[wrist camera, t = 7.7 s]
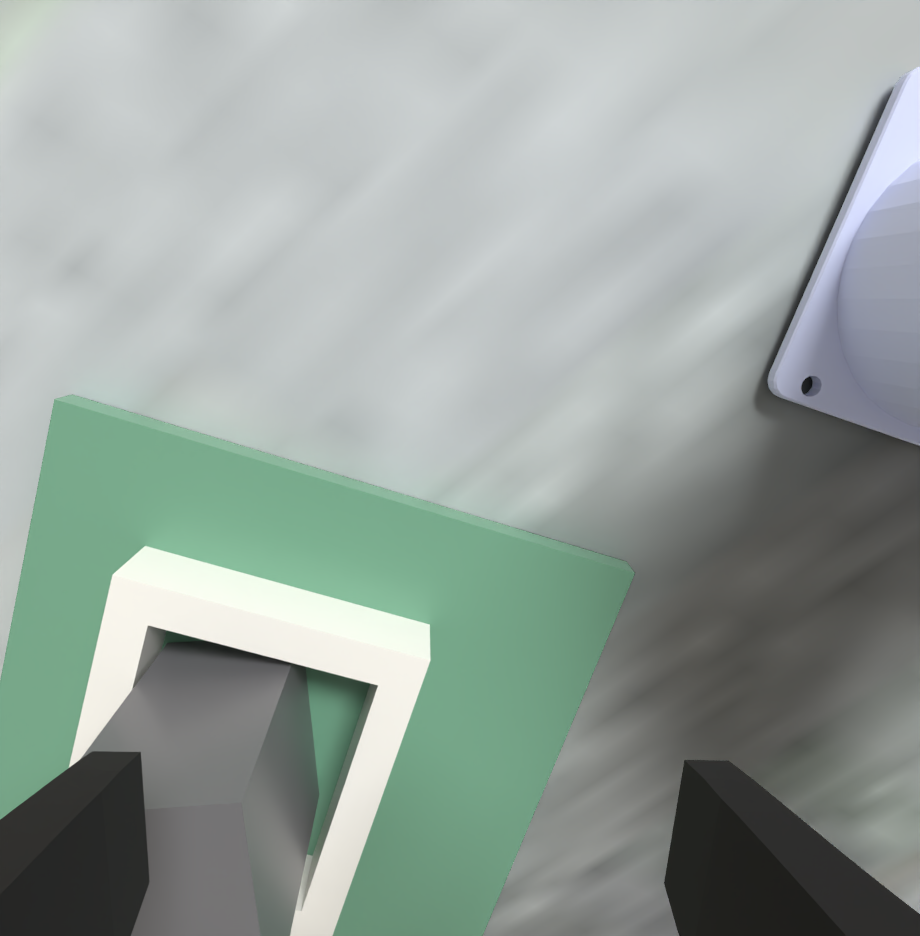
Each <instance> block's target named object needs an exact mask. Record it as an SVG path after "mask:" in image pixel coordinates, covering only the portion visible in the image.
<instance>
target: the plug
mask: <svg viewBox="0 0 920 936" xmlns="http://www.w3.org/2000/svg"><path fill="white" fill-rule="evenodd" d="M92 751H110V752H141V761H142V776H143V791H144V806H145V821H146V836H147V851H148V865H149V880H150V882H149V885H148V888H147V891H146V894H145V897H144V900H143V902H142V905H141V908H140V911H139V914H138V917H137V920H136V923H135V925H134V928H133V931H132V934H131V936H290V933H291V928H292V923H293V918H294V914H295V909H296V904H297V899H298V894H299V890H300V885H301V880H302V875H303V871H304V866H305V861H306V856H307V851H308V847H309V842H310V837H311V832H312V828H313V823H314V818H315V813H316V808H317V804H318V799H319V786H318V777H317V768H316V758H315V749H314V740H313V730H312V721H311V712H310V702H309V693H308V684H307V674H306V666H302V665H298V664H294V663H290V662H286V661H283V660H279V659H275V658H271V657H267V656H263V655H260V654H256V653H252V652H248V651H244V650H240V649H237V648H233V647H229V646H225V645H221V644H217V643H214V642H210V641H206V640H205V641H188V642H171V643H167V644H166V645H165V646H164V648H163V649H162V651H161V652H160V653H159V655H158V656H157V657H156V659H155V660H154V661H153V663H152V664H151V665H150V667H149V668H148V669H147V671H146V672H145V673H144V675H143V676H142V677H141V679H140V680H139V681H138V683H137V684H136V685H135V687H134V688H133V689H132V691H131V692H130V693H129V695H128V696H127V697H126V699H125V700H124V701H123V703H122V704H121V705H120V707H119V708H118V709H117V711H116V712H115V713H114V715H113V716H112V717H111V719H110V720H109V721H108V723H107V724H106V725H105V727H104V728H103V730H102V731H101V732H100V734H99V735H98V736H97V738H96V739H95V740H94V742H93V743H92V744H91V746H90V747H89V748H88V750H87V751H86V752H85V754H84V755H83V756H82V758H83V757H85V756H86V755H88V754H89V753H90V752H92ZM82 758H81V759H82Z"/></svg>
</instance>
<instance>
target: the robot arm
mask: <svg viewBox="0 0 920 936" xmlns="http://www.w3.org/2000/svg"><path fill="white" fill-rule="evenodd" d="M809 376H810V377H811V379H812V381H813V384H812V388H811V389H810V390H809V392H807V393H805V394H803V393H802V390H801V386H802V382H803V381H804V380H805V378H807V377H809ZM768 386H769V389H770V390H771V392H772V393H773V394H774V395H776V396H778V397H780V398H783V399H786V400H789V401H792V402H794V403H797V404H800V405H803V406H806V407H809V408H812V409H815V410H817V411H820V412H823V413H826V414H829V415H832V416H835V417H838V418H840V419H843V420H846V421H849V422H852V423H855V424H858V425H861V426H863V427H866V428H869V429H872V430H875V431H878V432H881V433H884V434H886V435H889V436H892V437H895V438H898V439H901V440H904V441H907V442H909V443H912V444H915V445H918V446H920V67H917V68H915V69H913V70H911V71H909V72H907V73H906V74H904V75H903V76H902V77H900V79H899V80H898V82H897V83H896V85H895V87H894V89H893V91H892V94H891V96H890V98H889V100H888V103H887V105H886V107H885V110H884V112H883V114H882V116H881V119H880V121H879V123H878V126H877V128H876V130H875V132H874V135H873V137H872V139H871V141H870V144H869V146H868V148H867V151H866V153H865V155H864V157H863V160H862V162H861V164H860V167H859V169H858V171H857V173H856V176H855V178H854V180H853V183H852V185H851V187H850V189H849V192H848V194H847V196H846V199H845V201H844V203H843V205H842V208H841V210H840V212H839V215H838V217H837V219H836V221H835V224H834V226H833V228H832V231H831V233H830V235H829V237H828V240H827V242H826V244H825V247H824V249H823V251H822V253H821V256H820V258H819V260H818V263H817V265H816V267H815V269H814V272H813V274H812V276H811V279H810V281H809V283H808V285H807V288H806V290H805V292H804V294H803V297H802V299H801V301H800V304H799V306H798V308H797V310H796V313H795V315H794V317H793V320H792V322H791V324H790V326H789V329H788V331H787V333H786V336H785V338H784V340H783V342H782V345H781V347H780V349H779V352H778V354H777V356H776V358H775V361H774V363H773V365H772V368H771V370H770V372H769V376H768ZM149 882H150V880H149V865H148V851H147V836H146V821H145V806H144V791H143V776H142V761H141V752H110V751H92V752H90V753H89V754H88V755H86V756H85V757H83V758H82V759H80V760H79V761H78V762H76V763H75V764H73V765H72V766H71V767H69V768H68V769H67V770H65V771H64V772H63V773H61V774H60V775H59V776H57V777H56V778H55V779H53V780H52V781H51V782H49V783H48V784H47V785H45V786H44V787H43V788H41V789H40V790H39V791H37V792H36V793H35V794H33V795H32V796H31V797H29V798H28V799H27V800H25V801H24V802H23V803H21V804H20V805H19V806H17V807H16V808H15V809H14V810H12V811H11V812H10V813H8V814H7V815H6V816H4V817H3V818H2V819H0V936H131V934H132V931H133V928H134V925H135V923H136V920H137V917H138V914H139V911H140V908H141V905H142V902H143V900H144V897H145V894H146V891H147V888H148V885H149ZM664 884H665V888H666V891H667V895H668V898H669V902H670V905H671V909H672V912H673V916H674V919H675V923H676V926H677V930H678V933H679V936H920V914H919V913H917V912H916V911H915V910H914V909H912V908H911V907H910V906H908V905H907V904H906V903H905V902H903V901H902V900H901V899H899V898H898V897H897V896H895V895H894V894H893V893H892V892H890V891H889V890H888V889H887V888H885V887H884V886H883V885H882V884H880V883H879V882H878V881H876V880H875V879H874V878H873V877H871V876H870V875H869V874H868V873H866V872H865V871H864V870H863V869H861V868H860V867H859V866H858V865H857V864H855V863H854V862H853V861H852V860H850V859H849V858H848V857H847V856H845V855H844V854H843V853H842V852H840V851H839V850H838V849H837V848H836V847H834V846H833V845H832V844H831V843H829V842H828V841H827V840H826V839H824V838H823V837H822V836H821V835H820V834H818V833H817V832H816V831H815V830H814V829H812V828H811V827H810V826H809V825H808V824H806V823H805V822H804V821H803V820H801V819H800V818H799V817H798V816H797V815H795V814H794V813H793V812H792V811H791V810H789V809H788V808H787V807H786V806H784V805H783V804H782V803H781V802H780V801H778V800H777V799H776V798H775V797H774V796H772V795H771V794H770V793H769V792H767V791H766V790H765V789H764V788H763V787H761V786H760V785H759V784H758V783H756V782H755V781H754V780H753V779H751V778H750V777H749V776H748V775H746V774H745V773H744V772H742V771H741V770H740V769H738V768H737V767H736V766H734V765H733V764H732V763H730V762H729V761H708V760H685V761H684V767H683V773H682V779H681V785H680V791H679V797H678V803H677V809H676V815H675V821H674V827H673V833H672V839H671V845H670V851H669V857H668V863H667V869H666V876H665V882H664Z"/></svg>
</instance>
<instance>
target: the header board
mask: <svg viewBox="0 0 920 936" xmlns="http://www.w3.org/2000/svg"><path fill="white" fill-rule="evenodd" d="M634 575H635V572H634V571H633V570H632V568H631V567H630V566H629V565H628V563H627V562H626V561H623V560H619V559H616V558H613V557H609V556H606V555H603V554H599V553H596V552H593V551H590V550H586V549H583V548H580V547H576V546H573V545H570V544H566V543H563V542H560V541H556V540H553V539H550V538H546V537H543V536H540V535H536V534H533V533H530V532H527V531H523V530H520V529H517V528H513V527H510V526H507V525H503V524H500V523H497V522H493V521H490V520H487V519H483V518H480V517H477V516H473V515H470V514H467V513H463V512H460V511H457V510H454V509H450V508H447V507H444V506H440V505H437V504H434V503H430V502H427V501H424V500H420V499H417V498H414V497H410V496H407V495H404V494H400V493H397V492H394V491H390V490H387V489H384V488H381V487H377V486H374V485H371V484H367V483H364V482H361V481H357V480H354V479H351V478H347V477H344V476H341V475H337V474H334V473H331V472H327V471H324V470H321V469H317V468H314V467H311V466H308V465H304V464H301V463H298V462H294V461H291V460H288V459H284V458H281V457H278V456H274V455H271V454H268V453H264V452H261V451H258V450H254V449H251V448H248V447H244V446H241V445H238V444H235V443H231V442H228V441H225V440H221V439H218V438H215V437H211V436H208V435H205V434H201V433H198V432H195V431H191V430H188V429H185V428H181V427H178V426H175V425H171V424H168V423H165V422H162V421H158V420H155V419H152V418H148V417H145V416H142V415H138V414H135V413H132V412H128V411H125V410H122V409H118V408H115V407H112V406H108V405H105V404H102V403H99V402H95V401H92V400H89V399H85V398H82V397H79V396H75V395H68V396H65V397H61V398H57V399H54V405H53V410H52V415H51V420H50V425H49V431H48V436H47V441H46V446H45V451H44V457H43V462H42V467H41V472H40V477H39V483H38V488H37V493H36V498H35V503H34V509H33V514H32V519H31V524H30V529H29V535H28V540H27V545H26V550H25V555H24V560H23V566H22V571H21V576H20V581H19V586H18V592H17V597H16V602H15V607H14V612H13V618H12V623H11V628H10V633H9V638H8V644H7V649H6V654H5V659H4V664H3V670H2V675H1V680H0V819H2V818H3V817H4V816H6V815H7V814H8V813H10V812H11V811H12V810H14V809H15V808H16V807H17V806H19V805H20V804H21V803H23V802H24V801H25V800H27V799H28V798H29V797H31V796H32V795H33V794H35V793H36V792H37V791H39V790H40V789H41V788H43V787H44V786H45V785H47V784H48V783H49V782H51V781H52V780H53V779H55V778H56V777H57V776H59V775H60V774H61V773H63V772H64V771H65V770H67V769H68V768H69V767H71V766H72V765H73V764H75V763H76V762H78V761H79V760H80V759H81V758H82V756H83V755H84V754H85V752H86V751H87V750H88V748H89V747H90V746H91V744H92V743H93V742H94V740H95V739H96V738H97V736H98V735H99V734H100V732H101V731H102V730H103V728H104V727H105V725H106V724H107V723H108V721H109V720H110V719H111V717H112V716H113V715H114V713H115V712H116V711H117V709H118V708H119V707H120V705H121V704H122V703H123V701H124V700H125V699H126V697H127V696H128V695H129V693H130V692H131V691H132V689H133V688H134V687H135V685H136V684H137V683H138V681H139V680H140V679H141V677H142V676H143V675H144V673H145V672H146V671H147V669H148V668H149V667H150V665H151V664H152V663H153V661H154V660H155V659H156V657H157V656H158V655H159V653H160V652H161V651H162V649H163V648H164V646H165V645H166V644H167V643H171V642H188V641H205V640H206V641H210V642H214V643H217V644H221V645H225V646H229V647H233V648H237V649H240V650H244V651H248V652H252V653H256V654H260V655H263V656H267V657H271V658H275V659H279V660H283V661H286V662H290V663H294V664H298V665H302V666H306V674H307V684H308V693H309V702H310V712H311V721H312V730H313V740H314V749H315V758H316V768H317V777H318V786H319V799H318V804H317V808H316V813H315V818H314V823H313V828H312V832H311V837H310V842H309V847H308V851H307V856H306V861H305V866H304V871H303V875H302V880H301V885H300V890H299V894H298V899H297V904H296V909H295V914H294V918H293V923H292V928H291V933H290V936H483V933H484V931H485V929H486V926H487V924H488V922H489V919H490V917H491V914H492V912H493V910H494V907H495V905H496V903H497V900H498V898H499V895H500V893H501V891H502V888H503V886H504V884H505V881H506V879H507V876H508V874H509V872H510V869H511V867H512V865H513V862H514V860H515V857H516V855H517V853H518V850H519V848H520V846H521V843H522V841H523V838H524V836H525V834H526V831H527V829H528V827H529V824H530V822H531V819H532V817H533V815H534V812H535V810H536V808H537V805H538V803H539V800H540V798H541V796H542V793H543V791H544V788H545V786H546V784H547V781H548V779H549V777H550V774H551V772H552V769H553V767H554V765H555V762H556V760H557V758H558V755H559V753H560V750H561V748H562V746H563V743H564V741H565V739H566V736H567V734H568V731H569V729H570V727H571V724H572V722H573V720H574V717H575V715H576V712H577V710H578V708H579V705H580V703H581V701H582V698H583V696H584V693H585V691H586V689H587V686H588V684H589V682H590V679H591V677H592V674H593V672H594V670H595V667H596V665H597V662H598V660H599V658H600V655H601V653H602V651H603V648H604V646H605V643H606V641H607V639H608V636H609V634H610V632H611V629H612V627H613V624H614V622H615V620H616V617H617V615H618V613H619V610H620V608H621V605H622V603H623V601H624V598H625V596H626V594H627V591H628V589H629V586H630V584H631V582H632V579H633V577H634Z"/></svg>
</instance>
